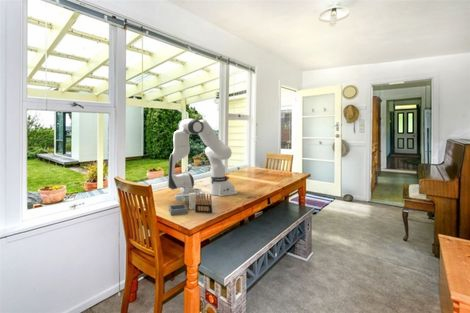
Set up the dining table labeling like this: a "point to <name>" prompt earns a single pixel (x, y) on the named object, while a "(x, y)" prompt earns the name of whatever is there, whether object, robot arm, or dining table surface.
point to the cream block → (192, 200)
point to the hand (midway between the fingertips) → (192, 199)
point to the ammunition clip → (203, 204)
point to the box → (178, 209)
